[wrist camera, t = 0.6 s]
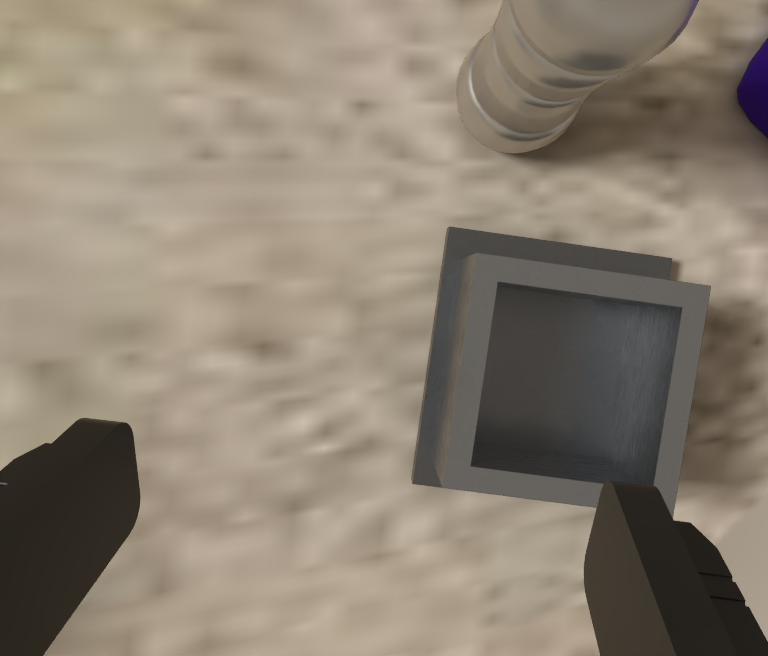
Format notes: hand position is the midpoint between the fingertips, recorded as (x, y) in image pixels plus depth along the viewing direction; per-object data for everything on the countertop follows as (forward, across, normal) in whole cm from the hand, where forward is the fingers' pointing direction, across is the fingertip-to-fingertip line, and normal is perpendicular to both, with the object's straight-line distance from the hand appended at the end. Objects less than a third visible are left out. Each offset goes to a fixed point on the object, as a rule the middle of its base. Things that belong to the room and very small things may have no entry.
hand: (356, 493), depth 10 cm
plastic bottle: (+30, -4, -5) cm, 31 cm away
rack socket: (+25, -7, +9) cm, 28 cm away
